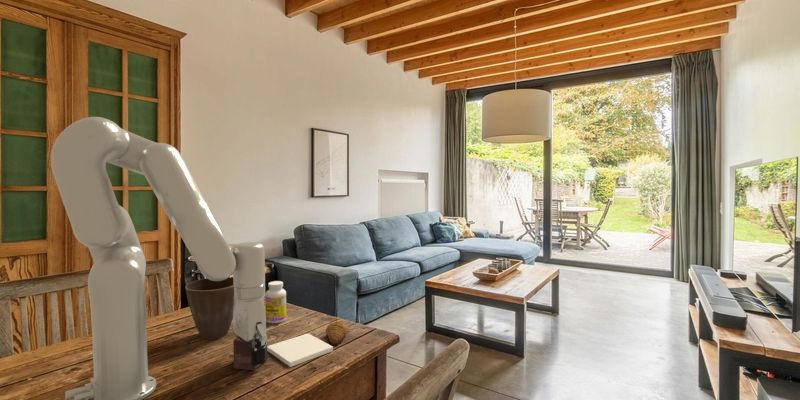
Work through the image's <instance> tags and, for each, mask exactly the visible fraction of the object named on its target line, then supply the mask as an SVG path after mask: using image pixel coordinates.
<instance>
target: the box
mask: <svg viewBox="0 0 800 400" xmlns="http://www.w3.org/2000/svg"><path fill="white" fill-rule="evenodd" d="M267 333H268V332H266V334H267ZM267 335H268V334H267ZM256 336H259V335H258V334H257V335H254V337H256ZM258 341H260V340H259V339H258V340H255V343H256V344H257V342H258ZM232 344H233V350H232V351H233V368H234V369H239V370H249V371H256V370H257V369H258V368H259V367H261V366H262V365H263V364H260V365H257V366H254V367H253V366H252V356H251V350H253V347H252V343H251V340H250V341H245V340H244V339H242V338H241V337H238V338H237V337H236V338H235V339H233V342H232ZM267 346H268V340H267V341H266V347H265V362H266V361H267V360H268V351H267Z"/></svg>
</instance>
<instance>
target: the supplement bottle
mask: <svg viewBox="0 0 800 400" xmlns="http://www.w3.org/2000/svg"><path fill="white" fill-rule="evenodd" d="M283 287H284V282H283V281H281V280H274V281H273V280H272V281H270V282H268V290H266V291H265V297H264V305H265V316H266V323H268V324H279V323H282V322H285V321H286V319H287V291H286V290H285V289H284V288H283Z"/></svg>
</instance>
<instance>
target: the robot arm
mask: <svg viewBox="0 0 800 400" xmlns="http://www.w3.org/2000/svg"><path fill="white" fill-rule="evenodd" d="M107 164H111V165H113V166H117V167H119V168H122V169H125V170H127V171H131V172H133V173H136V174H140V175H143V176H144V177H145V179H146V181H147V182H148V184H149V186H150V188H151V189H152V191H153V193H154V195H155V196H156V198H157V200H158V201H159V203H160V205H161V207H162V208H163V211H164V213H165V214H166V216H167V218H168V220H169V221H170V223H171V225H172V226H173V228H174V229H175V230H176V231H177V233H178V234H179V235H180V238H181V239H182V240H183V242H184V244H185V246H186V248H187V249H188V251H189V253H190V255H191V256H192V258H193V260H194V262H195V264H196V265H197V267H198V269H199V271H200V272H201V274H202V276H203V277H204V278H205V279H206V278H207V279H209V280H211V281H222V280H225V279H227V278H229V277H233V292H234V306H233V319H232V330H233V331H232V332H233V333H234V334H236V335H235V336H236V338H238V337H241V338H242V339H244V340H245V341H250V340H251V343H252V347H253V350H251V356H252V366H253V367H254V366H257V365H260V364H262V365H263V364H264V363H265V362H266V361H265V347H266V341H267V342H268V334H266V333H267V322H266V304H265V294H266V263H265V261H266V257H265V255H266V254H265V252H266V251H265V246H264V244H262V243H261V242H257V241H256V242H255V241H248V242H240V243H228V242H227V240H226V238H225V236H224V234H223V233H222V231H221V229H220V227H219V225H218V223H217V221H216V219H215V217H214V215H213V213H212V211H211V208H210V207H209V204H208V203H207V201H206V199H205V197H204V195H203V193H202V191H201V189H200V187H199V185H198V184H197V182H196V180H195V178H194V177H193V175H192V173H191V170H190V169H189V167H188V164H186V162H185V160H184V158H183V156H182V154H181V153H180V152H179V150H178V149H177V148H176V147H174V146H173V145H171V144H168V143H165V142H156V141H153V140H150V139H147V138H145V137H143V136H141V135H138V134H135V133H133V132H130V131H129V130H126V129H123V128H121V127H120V126H119V125H118V124H117V123H115V122H114V121H112V120H111V119H108V118H104V117H100V116H90V117H89V116H88V117H85V118H81V119H79V120H76V121H75V122H73V123H71V124H69V125H68V126H67V127H65V129H63V130H62V131H61V132H60V133H59V135H58V136H57V137H56V139H55V140H54V143H53V145H52V148H51V151H50V167H51V171H52V174H53V178H54V181H55V183H56V186H57V189H58V191H59V195H60V197H61V201H62V204H63V206H64V210H65V211H66V215H67V217H68V219H69V222H70V225H71V229H72V232H73V235H74V237H75V239H76V240H77V241H78V242H79V243H80V244H81V245H83V246H85V247H87V248H88V250H89V253H90V256H91V258H92V261H93V263H94V264H93V265H92V267H91V268H90V270H89V273H88V278H87V290H88V291H87V292H88V299H89V307H90V317H91V318H90V319H91V320H90V321H91V322H90V323H91V324H90V325H91V335H92V336H91V337H92V340H91V341H92V358H93V359H92V361H93V362H92V363H93V365H92V366H93V377H90V382H88V383H84V386H80V387H75V388H73V389H69V390H68V389H67V390H65V395H64V396H65V400H144V399H146V398H147V397H148V396H150V395H151V394H152V393H153V392H154V391H155V390H156V388H157V380H156V378H155V377H153V376H151V375H149V367H148V366H149V365H148V337H147V336H148V335H147V334H148V333H147V331H148V330H147V313H146V312H147V307H146V289H145V287H146V286H145V285H146V284H145V283H146V282H145V281H146V268H147V261H146V257H145V253H144V250H143V248H142V245H141V242H140V239H139V237H138V235H137V232H136V229H135V225H134V222H133V221H132V218H131V216H130V214H129V212H128V211H127V210H126V209H125V208H124V207H122V205H120V204H119V202H118V200H117V197H116V194H115V192H114V189H113V184H112V182H111V180H110V178H109V177H110V176H109V174H108V172H107V167H106V165H107ZM257 334H258V335H259V336H256V337H254V335H257ZM258 339H259V340H260V341H258V342H257V344H256V343H255V340H258Z"/></svg>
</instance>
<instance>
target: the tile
mask: <svg viewBox="0 0 800 400" xmlns="http://www.w3.org/2000/svg"><path fill="white" fill-rule="evenodd" d="M332 352H334V345H332V344H329V343H327V342H326V341H324V340H321V339H320V338H318V337H316V336H315V335H312V334H311V333H309V332H308V333H305V334H301V335H300V336H296V337H291V338H289V339H286V340H283V341H279V342H276V343H273V344H270V345H267V353H270V354H271V355H272V356H274V357H275V358H277V359H278V360H280V361H281V362H282V363H283V364H285V365H287V366H288V367H290V368H292V367H294V366H297V365H299V364H304V363H305V362H308V361H311V360H314V359H316V358H317V357H321V356H323V355H326V354H328V353H332Z"/></svg>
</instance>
